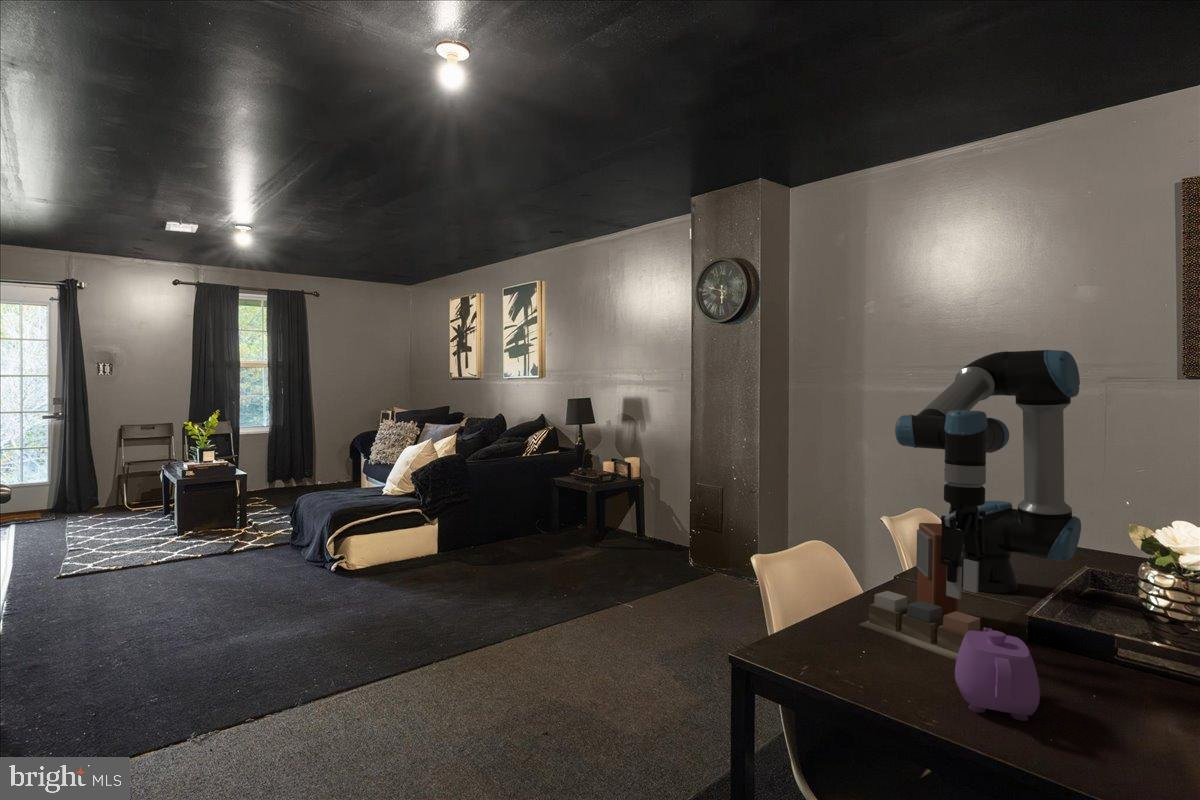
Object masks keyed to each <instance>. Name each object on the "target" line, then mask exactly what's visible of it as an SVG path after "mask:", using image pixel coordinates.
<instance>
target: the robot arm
mask: <svg viewBox="0 0 1200 800" xmlns="http://www.w3.org/2000/svg"><path fill="white" fill-rule="evenodd" d="M1080 382H1081V379H1080V373H1079V367H1078V365H1077V361H1076V360H1075V358H1074V356H1073V355H1072V354H1071V353H1070V352H1069V351H1066V350H1058V349H1057V350H1056V349H1043V350H1042V349H1040V350H1039V349H1038V350H1037V349H1036V350H1020V351H997V352H994V353H990V354H987V355H985V356H982V357H980V358H978V359H976V360H973V361H972V362H970V363H968V364H967V365H965V366H964V367H963V368H962V369H960V370H959V371H958V372H957V374H956V375H955V377H954V381H953V382H952V383H951V384H950V385H949V386H948V387H947V388H946V389H944V390H943V391H942V392H941V393H939V395H938V396H937V397H935V398H934V399H933V400H932V401H931V402H930V403H929V404H928V405H927V406H926V407H924V408H923V409H922V410H921V411H920V412H919V413H918V414H917V415H916V414H915V415H914V414H907V415H906V414H904V415H900V416H899V417H898V419H897V421H896V423H895V427H894V434H895V435H894V436H895V439H896V441H897V443H898V444H899V445H901V446H903V447H909V448H914V449H917V448H918V449H932V450H933V449H935V450H944V466H943V471H944V481H945V482H946V483H945V484H944V485H943V501H944V502H945V503H949V505H950V506H949V511H948V514H947V515H940V516H941V517H940V522H941V523H940V524H942V535H941V553H940V562H941V564H944V565H947V579H946V596H950V597H953V598H957V599H958V600H961V599H962V590H964V591H965V592H966V591H967V592H971V593H974V594H978V593H979V591H980V592H986V593H994V594H1008V593H1009V594H1010V593H1014V592H1016V591H1018V585H1019V583H1018V581H1019V580H1018V578H1017V575H1016V571H1015V570H1014V567H1013V564H1012V561H1011V559H1012V558H1011V557H1012V556H1011V555H1012V554H1011V553H1015V554H1021V555H1026V556H1029V557H1030V556H1031V557H1035V558H1036V557H1037V558H1041V559H1045V560H1048V561H1050V560H1052V561H1053V560H1054V561H1060V562H1066V561H1068V560H1070V559H1071V558H1073V556H1074V554H1075V553H1076V550H1077V548H1078V545H1079V541H1080V538H1081V532H1082V523H1081V519H1080V518H1079V517H1077V516H1075V515H1073V509H1072V507H1071V505H1069V504H1068V503H1067V502H1066V501H1065V447H1064V446H1065V443H1064V442H1065V441H1064V440H1065V439H1064V437H1065V436H1064V435H1065V433H1064V426H1065V425H1064V410H1065V409H1066V408H1067V407H1068V406H1069V405H1070V404H1072V401H1071V400H1072V399H1071V398H1074V397H1077V396H1078V395H1079V394H1080V393H1079V392H1080V384H1081V383H1080ZM992 396H996V397H997V396H1009V397H1010V396H1011V397H1014V398H1015V405H1016V406H1018V407H1019V408H1020V409H1021V411H1022V437H1023V438H1022V441H1023V442H1022V443H1023V445H1022V446H1023V485H1024V486H1023V494H1024V498H1023V500H1022V501H1020V502H1019V503H1018V504H1017V508H1013V504H1012V503H1011V502H1009V501H1005V500H1004V501H1003V500H986V487H985V486H983V485H986V483H987V482H986V480H987V479H986V478H987V477H986V476H987V461H986V460H987V454H988V453H989V454H991V453H992V454H993V453H995V452H997V451H1000V450H1001V449H1003V448H1004V447H1005V446H1006V445H1007V444H1008V442H1009V440H1010V431H1009V428H1008V427H1007V425H1006V424H1005V423H1004V422H1003V421H1002V420H1000V419H998V418H994V417H987V414H986V412H984V411H983V410H972V409H973V408H974V407H975V406H976V405H977V404H978V403H979V402H981V401H984V400H987V399H989V398H990V397H992ZM959 565H960V566H959Z"/></svg>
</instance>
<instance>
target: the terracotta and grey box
mask: <svg viewBox="0 0 1200 800" xmlns="http://www.w3.org/2000/svg"><path fill="white" fill-rule="evenodd" d="M941 535H942V524H941V523H937V522H936V523H934V522H933V523H932V522H919V523H918V529H917V530H916V557H915V559H916V561H915V562H916V565H915V568H917V601H924V602H927V603H930V604H934V605H937V606H940V607H942V617H944V615H947V614H950V613H952V612H955V611H957V612H959V599H957V598H953V597H950V596H946V579H947V565H944V564H941V562H940V553H941ZM959 566H960V565H959Z"/></svg>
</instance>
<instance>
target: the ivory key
mask: <svg viewBox="0 0 1200 800" xmlns="http://www.w3.org/2000/svg"><path fill="white" fill-rule="evenodd" d="M873 604H874V606H877V607H880V608H883V609H886V610H889V611H892V612H898V611H901V610H904V609H907V605H908V596H907V595H903V594H899V593H896V592H892V591H889V590H885V591H882V592H878V593H875V594H874V602H873Z"/></svg>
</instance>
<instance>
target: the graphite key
mask: <svg viewBox="0 0 1200 800" xmlns="http://www.w3.org/2000/svg"><path fill="white" fill-rule="evenodd" d="M907 616H908V617H911V618H914V619H917V620H920V621H923V622H926V623H929V624H930V623H933V622H936V621H938V620H941V619H942V607H940V606H937V605H934V604H930V603H927V602H924V601H918V600H917V601H914V602H911V603H909V604H908V603H907Z"/></svg>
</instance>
